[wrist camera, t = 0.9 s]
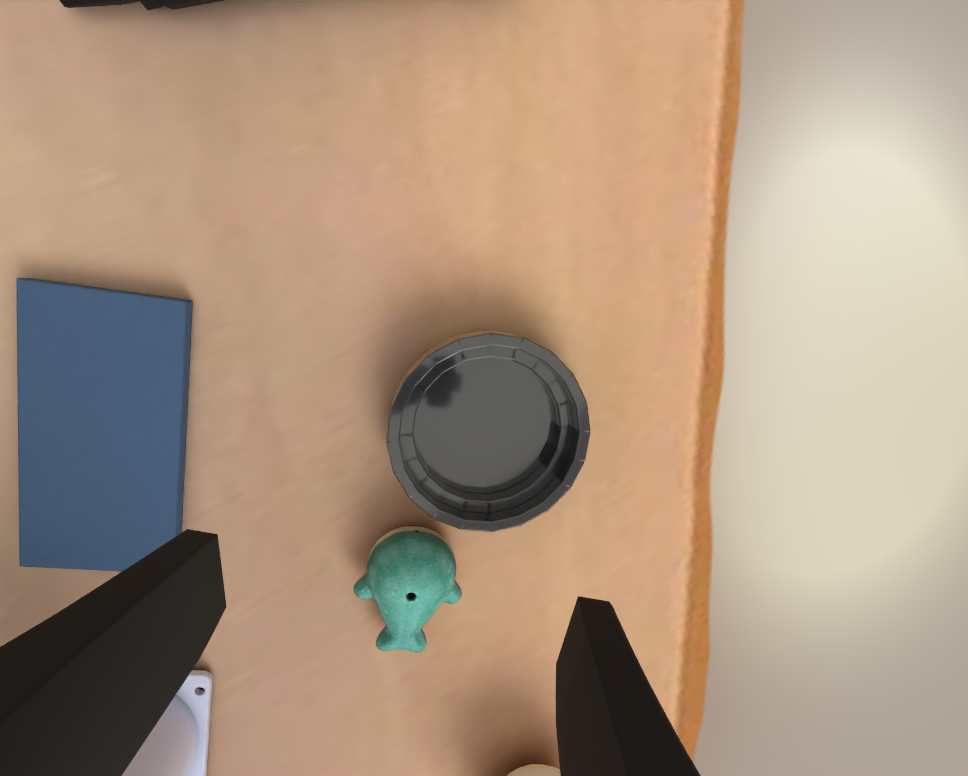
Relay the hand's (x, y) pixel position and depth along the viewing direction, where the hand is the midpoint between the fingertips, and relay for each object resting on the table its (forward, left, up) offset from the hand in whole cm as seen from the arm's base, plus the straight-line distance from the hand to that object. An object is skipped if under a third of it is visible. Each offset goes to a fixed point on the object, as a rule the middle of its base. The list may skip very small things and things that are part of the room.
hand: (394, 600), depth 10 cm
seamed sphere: (-24, -9, -17) cm, 31 cm away
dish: (0, -4, -17) cm, 17 cm away
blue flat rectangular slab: (-3, +14, -17) cm, 22 cm away
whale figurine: (-10, -1, -17) cm, 20 cm away
